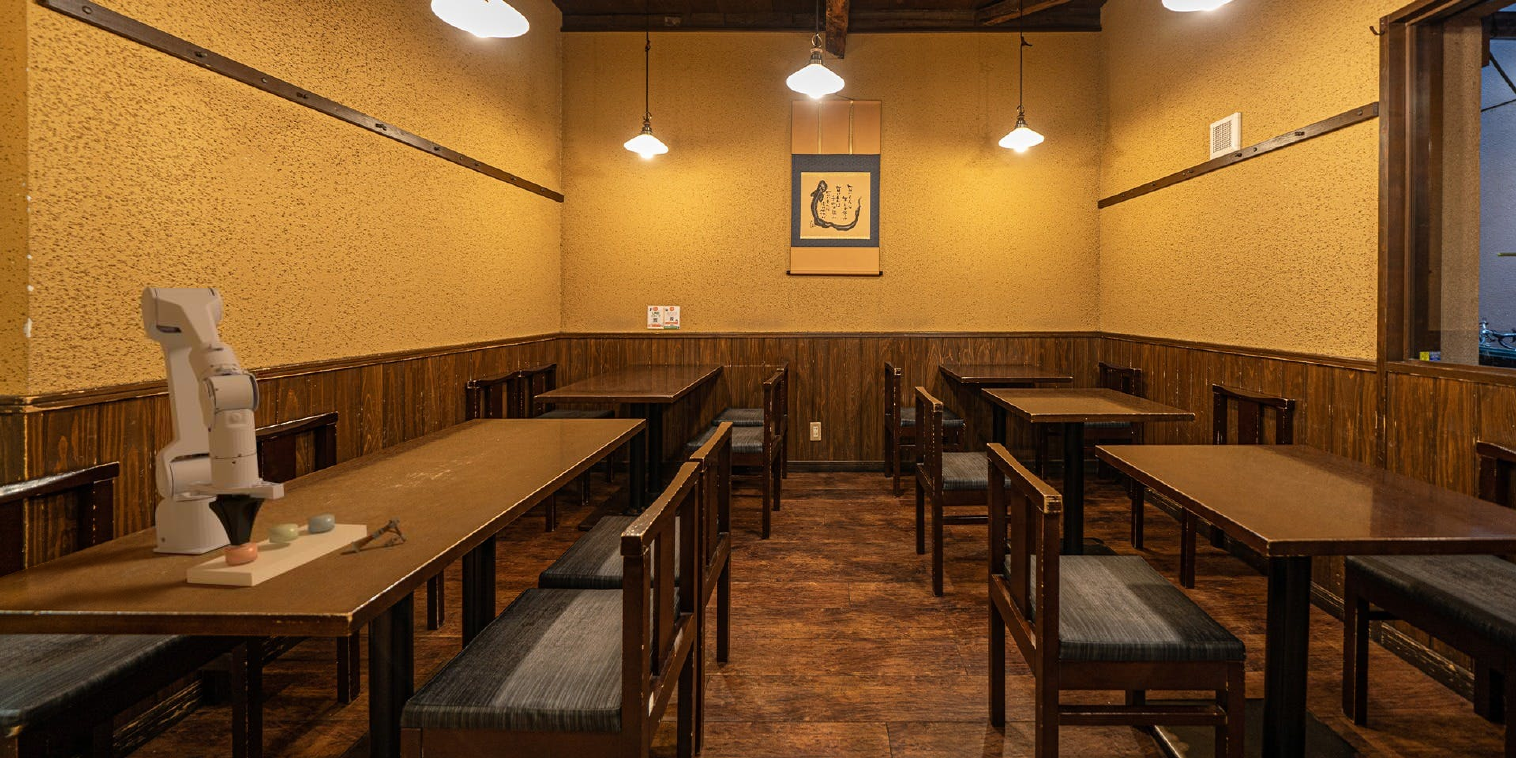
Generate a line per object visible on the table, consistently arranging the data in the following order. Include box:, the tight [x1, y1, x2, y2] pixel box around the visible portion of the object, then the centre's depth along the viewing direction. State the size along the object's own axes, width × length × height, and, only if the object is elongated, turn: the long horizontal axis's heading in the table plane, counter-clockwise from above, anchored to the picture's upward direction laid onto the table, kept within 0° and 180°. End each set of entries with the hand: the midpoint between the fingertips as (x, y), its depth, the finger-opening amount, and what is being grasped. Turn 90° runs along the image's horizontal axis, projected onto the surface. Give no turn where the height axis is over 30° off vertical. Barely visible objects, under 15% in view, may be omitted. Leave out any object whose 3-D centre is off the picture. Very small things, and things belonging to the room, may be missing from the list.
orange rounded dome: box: [224, 542, 258, 564], centre depth 110 cm, size 4×4×2 cm
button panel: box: [186, 523, 368, 587], centre depth 118 cm, size 11×24×2 cm, turn 170°
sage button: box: [268, 523, 299, 543], centre depth 118 cm, size 4×4×2 cm
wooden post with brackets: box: [350, 518, 407, 554], centre depth 123 cm, size 2×8×4 cm, turn 124°
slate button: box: [306, 513, 336, 532], centre depth 126 cm, size 4×4×2 cm
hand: (240, 543), depth 110 cm, fingers closed
